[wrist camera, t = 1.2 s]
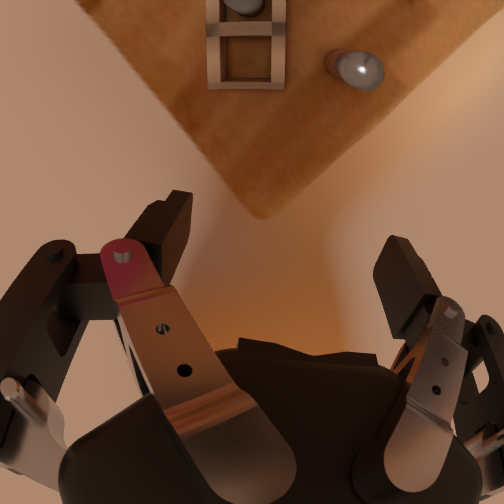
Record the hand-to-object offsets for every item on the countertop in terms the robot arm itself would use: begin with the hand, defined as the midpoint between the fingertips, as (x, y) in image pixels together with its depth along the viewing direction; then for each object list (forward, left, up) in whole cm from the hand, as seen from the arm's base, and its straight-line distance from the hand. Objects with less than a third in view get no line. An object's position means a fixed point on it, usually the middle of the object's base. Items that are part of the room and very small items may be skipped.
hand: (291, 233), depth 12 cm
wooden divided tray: (-9, -4, -22) cm, 24 cm away
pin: (-6, +5, -22) cm, 23 cm away
